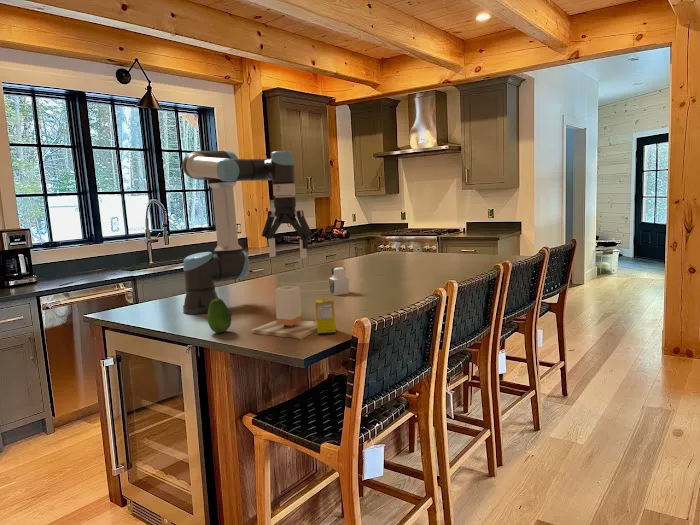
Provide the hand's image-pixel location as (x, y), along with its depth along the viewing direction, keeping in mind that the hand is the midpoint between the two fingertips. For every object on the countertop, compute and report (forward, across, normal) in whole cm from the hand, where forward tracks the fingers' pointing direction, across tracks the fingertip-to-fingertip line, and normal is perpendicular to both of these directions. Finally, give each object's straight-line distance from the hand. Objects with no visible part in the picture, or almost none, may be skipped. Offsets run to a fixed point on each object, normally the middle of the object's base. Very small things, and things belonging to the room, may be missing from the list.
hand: (287, 257), depth 185 cm
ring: (+21, +6, -8) cm, 23 cm away
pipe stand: (+23, +6, -8) cm, 26 cm away
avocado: (+24, -15, -20) cm, 35 cm away
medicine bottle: (+24, -11, +51) cm, 58 cm away
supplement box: (+23, +20, -7) cm, 31 cm away
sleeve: (+19, +6, -8) cm, 22 cm away
